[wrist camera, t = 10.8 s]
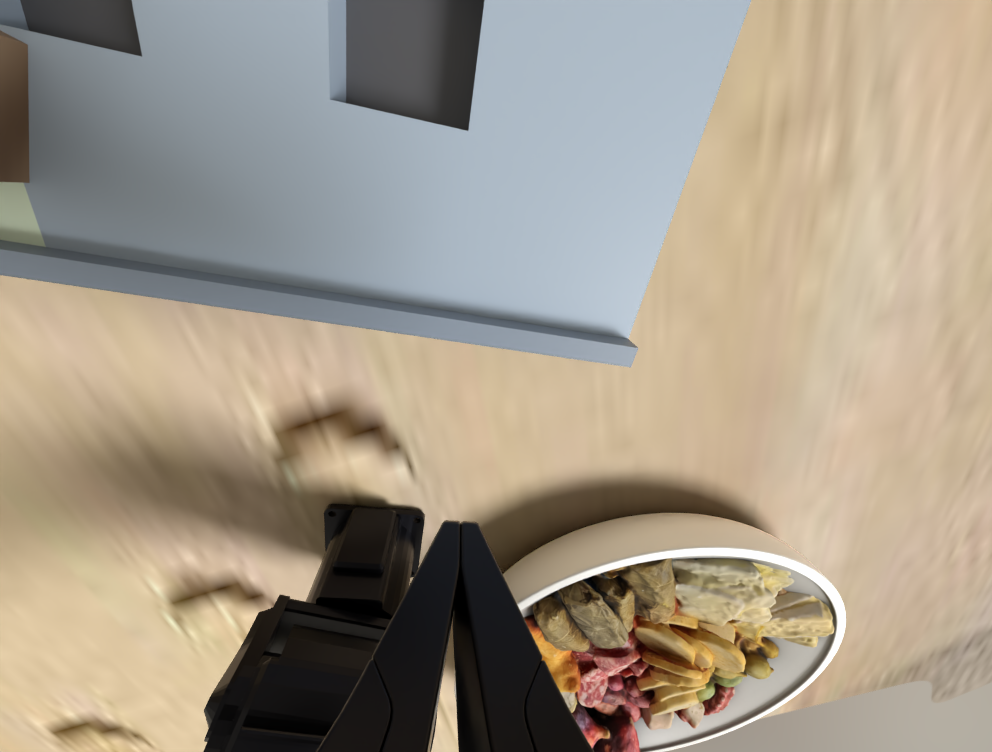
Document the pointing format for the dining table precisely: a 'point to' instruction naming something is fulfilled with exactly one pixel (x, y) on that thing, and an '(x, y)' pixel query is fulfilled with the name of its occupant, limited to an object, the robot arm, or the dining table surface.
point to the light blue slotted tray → (367, 158)
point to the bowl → (675, 626)
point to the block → (14, 110)
